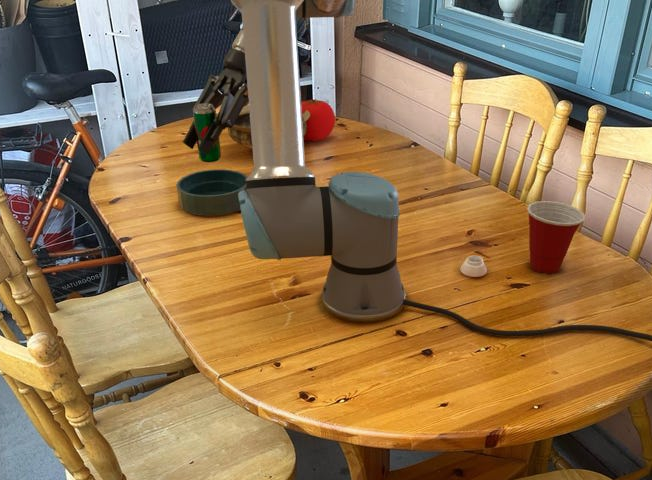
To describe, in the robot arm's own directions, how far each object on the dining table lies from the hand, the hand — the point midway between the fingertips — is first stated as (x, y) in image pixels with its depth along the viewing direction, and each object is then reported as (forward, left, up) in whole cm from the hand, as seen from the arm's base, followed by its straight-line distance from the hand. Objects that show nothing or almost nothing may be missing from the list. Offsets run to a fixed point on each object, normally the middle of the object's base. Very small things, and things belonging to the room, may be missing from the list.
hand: (195, 148), depth 157 cm
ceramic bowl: (+19, -37, -14) cm, 44 cm away
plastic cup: (-74, -30, -14) cm, 81 cm away
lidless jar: (-65, -18, -14) cm, 69 cm away
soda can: (0, -4, -4) cm, 5 cm away
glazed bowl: (0, -4, -14) cm, 15 cm away
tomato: (+17, -52, -9) cm, 55 cm away
